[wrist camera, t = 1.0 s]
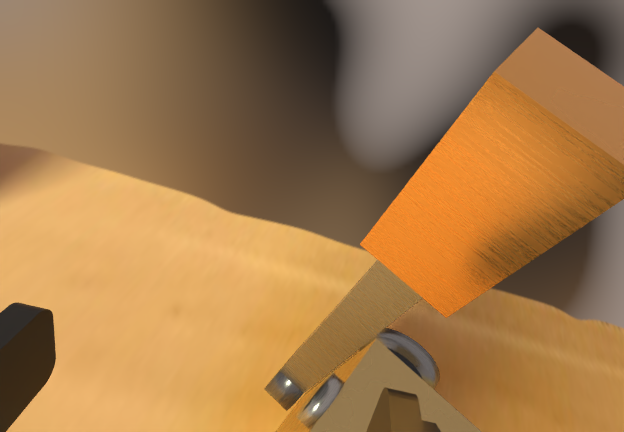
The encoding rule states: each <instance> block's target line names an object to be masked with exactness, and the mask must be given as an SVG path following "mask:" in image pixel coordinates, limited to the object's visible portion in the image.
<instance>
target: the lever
mask: <svg viewBox="0 0 624 432" xmlns="http://www.w3.org/2000/svg"><path fill="white" fill-rule="evenodd" d="M623 199H624V86H622V85H621V84H619V83H618V82H616V81H615V80H613V79H612V78H610V77H609V76H608V75H606V74H605V73H603V72H602V71H600V70H599V69H597V68H596V67H594V66H593V65H592V64H590V63H589V62H587V61H586V60H584V59H583V58H582V57H580V56H579V55H577V54H576V53H574V52H573V51H571V50H570V49H568V48H567V47H566V46H564V45H562V44H561V43H560V42H558V41H557V40H555V39H554V38H552V37H551V36H550V35H548V34H547V33H545V32H544V31H542V30H541V29H539V28H537V29H536V30H535V31H534V32H533V33H532V34H531V35H530V36H529V37H528V38H527V39H526V40H525V41H524V42H523V43H522V44H521V45H520V46H519V47H518V48H517V49H516V50H515V51H514V52H513V53H512V54H511V55H510V56H509V57H508V58H507V59H506V60H505V61H504V62H503V63H502V64H501V65H500V66H499V67H498V68H497V69H496V70H495V71H494V72H493V74H492V75H491V76H490V78H489V79H488V80H487V81H486V83H485V84H484V85H483V86H482V88H481V89H480V90H479V92H478V93H477V94H476V95H475V97H474V98H473V99H472V101H471V102H470V103H469V105H468V106H467V107H466V108H465V110H464V111H463V112H462V114H461V115H460V116H459V118H458V119H457V120H456V121H455V123H454V124H453V125H452V126H451V128H450V129H449V130H448V132H447V133H446V134H445V135H444V137H443V138H442V139H441V141H440V142H439V143H438V145H437V146H436V147H435V148H434V150H433V151H432V152H431V154H430V155H429V156H428V157H427V159H426V160H425V161H424V163H423V164H422V165H421V166H420V168H419V169H418V170H417V172H416V173H415V174H414V175H413V177H412V178H411V180H410V181H409V182H408V183H407V184H406V186H405V187H404V188H403V190H402V191H401V192H400V193H399V195H398V196H397V197H396V199H395V200H394V201H393V202H392V204H391V205H390V206H389V208H388V209H387V210H386V211H385V213H384V214H383V215H382V217H381V218H380V219H379V221H378V222H377V223H376V224H375V226H374V227H373V228H372V229H371V231H370V232H369V233H368V235H367V236H366V237H365V239H364V240H363V241H362V242H361V244H360V245H361V246H362V247H363V248H365V249H366V250H367V251H368V252H369V253H371V254H372V255H373V256H374V257H375V258H376V259H378V260H377V261H376V262H375V264H374V265H373V266H372V267H371V268H370V269H369V270H368V271H367V273H366V274H365V275H364V276H363V277H362V278H361V279H360V280H359V281H358V283H357V284H356V285H355V286H354V287H353V288H352V289H351V290H350V292H349V293H348V294H347V295H346V296H345V297H344V298H343V299H342V301H341V302H340V303H339V304H338V305H337V306H336V307H335V308H334V310H333V311H332V312H331V313H330V314H329V315H328V316H327V317H326V318H325V320H324V321H323V322H322V323H321V324H320V325H319V326H318V327H317V329H316V330H315V331H314V332H313V333H312V334H311V335H310V336H309V338H308V339H307V340H306V341H305V342H304V343H303V344H302V345H301V346H300V347H299V348H298V350H297V351H296V352H295V353H294V354H293V355H292V356H291V358H290V359H289V360H288V361H287V362H286V363H285V365H284V366H283V367H282V368H281V369H280V371H279V372H278V373H277V374H276V375H275V376H274V378H273V379H272V380H271V381H270V382H269V384H268V385H267V386H266V387H265V390H266V391H267V392H268V393H269V394H270V395H271V396H272V397H273V398H274V399H275V400H276V401H277V402H278V403H279V404H280V405H281V406H282V407H283V408H284V409H285V410H286V411H287V410H288V409H289V408H290V407H291V406H292V405H293V404H294V403H295V402H296V401H297V400H298V399H299V398H300V397H301V395H302V394H303V393H304V392H306V391H307V390H308V389H309V388H311V387H312V386H313V385H314V384H316V383H317V382H318V381H319V380H321V379H322V378H323V377H324V376H326V375H327V374H328V373H329V372H331V371H332V370H333V369H334V368H336V367H337V366H338V365H339V364H341V363H342V362H343V361H344V360H346V359H347V358H348V357H349V356H351V355H352V354H353V353H354V352H356V351H357V350H358V349H359V348H361V347H362V346H363V345H364V344H366V343H367V342H368V341H369V340H371V339H372V338H373V337H374V336H376V335H377V334H378V333H379V332H381V331H382V330H383V329H384V328H386V327H387V326H388V325H389V324H391V323H392V322H393V321H394V320H396V319H397V318H398V317H399V316H401V315H402V314H403V313H404V312H406V311H407V310H408V309H409V308H411V307H412V306H413V305H414V304H416V303H417V302H418V301H419V300H421V299H422V298H423V299H425V300H426V301H427V302H428V303H429V304H430V305H432V306H433V307H434V308H435V309H436V310H438V311H439V312H440V313H441V314H442V315H443V316H445V317H446V318H447V317H448V316H450V315H451V314H453V313H454V312H456V311H457V310H459V309H460V308H462V307H463V306H465V305H466V304H468V303H469V302H471V301H472V300H474V299H475V298H477V297H478V296H480V295H481V294H483V293H484V292H486V291H487V290H488V289H490V288H491V287H493V286H494V285H496V284H497V283H499V282H500V281H502V280H503V279H505V278H506V277H508V276H509V275H511V274H512V273H514V272H515V271H517V270H518V269H520V268H521V267H523V266H524V265H526V264H527V263H529V262H530V261H532V260H533V259H535V258H536V257H538V256H539V255H541V254H542V253H544V252H545V251H547V250H548V249H550V248H551V247H553V246H554V245H556V244H557V243H559V242H560V241H562V240H563V239H564V238H566V237H567V236H569V235H571V234H572V233H574V232H575V231H576V230H578V229H580V228H581V227H583V226H584V225H586V224H587V223H588V222H590V221H591V220H593V219H594V218H596V217H597V216H599V215H600V214H602V213H603V212H605V211H606V210H608V209H609V208H611V207H612V206H614V205H615V204H617V203H618V202H620V201H621V200H623Z"/></svg>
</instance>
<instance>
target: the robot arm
mask: <svg viewBox="0 0 624 432" xmlns="http://www.w3.org/2000/svg"><path fill="white" fill-rule="evenodd" d="M55 359H56V354H55V338H54V323H53V314H52V312H51V311H50V310H48V309H44V308H39V307H35V306H30V305H26V304H22V303H13V304H11V305H9V306H8V307H7V308H6V309H5V310H3V311H2V312H1V313H0V432H6V431H7V430H8V428H9V427H10V426H11V425H12V423H13V422H14V421H15V420H16V419H17V417H18V416H19V415H20V414H21V413H22V411H23V410H24V409H25V408H26V407H27V405H28V404H29V403H30V402H31V401H32V399H33V398H34V397H35V396H36V395H37V393H38V392H39V391H40V390H41V389H42V387H43V386H44V385H45V384H46V382H47V381H48V379H49V377H50V375H51V373H52V371H53V368H54V365H55ZM367 432H441V431H440V429H439V428H438V426H437V424H436V423H432V422H428V421H423V420H422V419H421V412H420V406H419V400H418V397H417V395H416V394H412V393H408V392H404V391H399V390H395V389H390V388H386V387H385V388H384V389H383V390H382V392H381V395H380V397H379V400H378V403H377V405H376V408H375V410H374V413H373V415H372V418H371V421H370V423H369V426H368V428H367Z"/></svg>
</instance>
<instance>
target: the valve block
mask: <svg viewBox="0 0 624 432" xmlns="http://www.w3.org/2000/svg"><path fill="white" fill-rule="evenodd" d="M439 379H440V374H439V370H438V367H437V365H436V363H435V361H434V360H433V358H432V357H431V356H430V354H429V353H428V352H427V351H426V350H425V349H424V348H423V347H422V346H421V345H419V344H418V343H417V342H415V341H414V340H413V339H411V338H410V337H408V336H406V335H404V334H402V333H400V332H398V331H395V330H392V329H388V328H384V329H383V330H382V331H381V332H379V333H378V334H377V335H376V336H374V337H373V338H372V339H371V340H369V341H368V342H367V343H366V344H364V345H363V346H362V347H361V348H360V352H359V353H357V354H356V355H355V356H353V357H352V358H351V359H350V360H348V361H347V362H346V363H345V364H343V365H342V366H341V367H339V368H338V369H337V370H336V371H334V372H333V371H332V372H331V373H330V374H329V375H327V376H326V378H325V379H324V380H323V381H322V382H320V383H319V384H318V385H316V386H315V387H314V388H313V389H311V390H310V391H309V392H308V393H306V394H305V395H304V396H303V397H302V398H301V400H300V401H299V402H298V404H297V405H296V406H295V407H294V409H293V410H292V411H291V413H290V414H289V415H288V417H287V418H286V419H285V420H284V422H283V423H282V424H281V426H280V427H279V428H278V430H277V431H276V432H367V428H368V426H369V423H370V421H371V418H372V415H373V413H374V410H375V408H376V405H377V403H378V400H379V397H380V395H381V392H382V390H383V389H384V388H385V387H386V388H390V389H395V390H399V391H404V392H408V393H412V394H416V395H417V397H418V400H419V406H420V412H421V419H422V420H423V421H428V422H432V423H436V424H437V426H438V428H439V429H440V431H441V432H481V431H480V430H479V429H478V428H477V427H475V426H474V425H473V424H472V423H471V422H470V421H469V420H468V419H466V418H465V417H464V416H463V415H462V414H461V413H460V412H459V411H457V410H456V409H455V408H454V407H453V406H452V405H451V404H450V403H448V402H447V401H446V400H445V399H444V398H443V397H442V396H441V395H439V394H438V393H437V392H436V391H435V390H434V389H435V387H436V385H437V384H438V382H439Z"/></svg>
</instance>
